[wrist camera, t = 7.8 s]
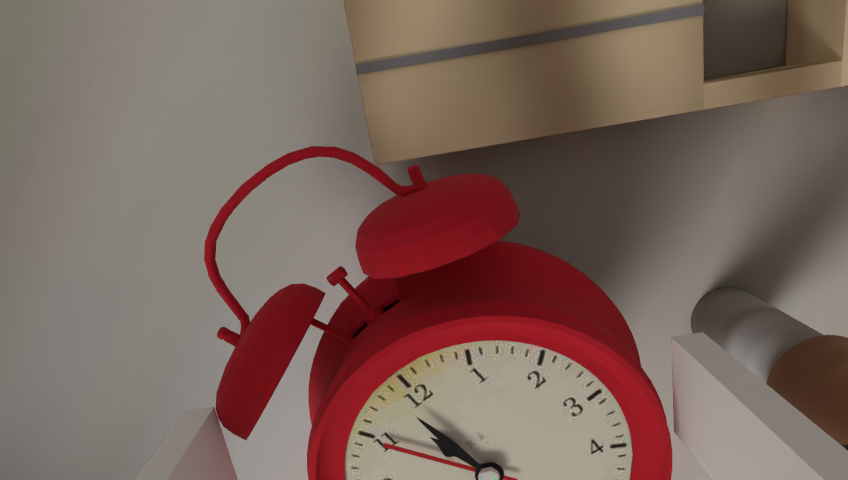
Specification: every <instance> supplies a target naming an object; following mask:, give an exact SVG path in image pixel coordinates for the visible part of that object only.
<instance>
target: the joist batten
mask: <svg viewBox="0 0 848 480" xmlns="http://www.w3.org/2000/svg"><path fill="white" fill-rule="evenodd" d="M344 5H345V10H346V15H347V21H348V26H349V31H350V36H351V42H352V47H353V52H354V57H355V63H356V69H357V75H358V78H359V84H360V89H361V94H362V99H363V104H364V110H365V115H366V120H367V125H368V131H369V136H370V141H371V146H372V152H373V157H374V162H375V165H378V164H384V163H390V162H396V161H402V160H408V159H414V158H420V157H425V156H431V155H437V154H443V153H449V152H455V151H461V150H467V149H473V148H479V147H485V146H491V145H497V144H503V143H509V142H515V141H521V140H527V139H533V138H538V137H544V136H550V135H556V134H562V133H568V132H574V131H580V130H586V129H592V128H598V127H604V126H610V125H616V124H622V123H628V122H634V121H640V120H645V119H651V118H657V117H663V116H669V115H675V114H681V113H687V112H693V111H699V110H705V109H711V108H717V107H723V106H729V105H735V104H741V103H747V102H753V101H758V100H764V99H770V98H776V97H782V96H788V95H794V94H800V93H806V92H812V91H818V90H824V89H830V88H836V87H842V86H848V0H788V4H787V32H786V61H785V66H782V67H776V68H770V69H764V70H758V71H752V72H746V73H741V74H735V75H729V76H723V77H717V78H711V79H705V80H704V69H703V15H705V4H703V0H344Z"/></svg>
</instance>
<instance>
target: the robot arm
mask: <svg viewBox="0 0 848 480" xmlns="http://www.w3.org/2000/svg"><path fill="white" fill-rule="evenodd" d="M671 339H672V375H673V410H674V432H675V433H676V435H677V436H678V437H679V438H680V440H681V441H682V442H683V444H684V445H685V446H686V447H687V449H688V450H689V451H690V453H691V454H692V455H693V457H694V458H695V459H696V460H697V462H698V463H699V464H700V466H701V467H702V468H703V469H704V471H705V472H706V473H707V475H708V476H709V477H710V479H711V480H848V444H847V445H840V444H839V443H838V442H837V441H835V440H834V439H833V438H832V437H830V436H829V435H828V434H827V433H826V432H824V431H823V430H822V429H821V428H819V427H818V426H817V425H816V424H815V423H813V422H812V421H811V420H810V419H808V418H807V417H806V416H805V415H804V414H802V413H801V412H800V411H799V410H797V409H796V408H795V407H794V406H793V405H791V404H790V403H789V402H788V401H786V400H785V399H784V398H783V397H781V396H780V395H779V394H778V393H777V392H775V391H774V390H773V389H772V388H770V387H769V386H768V385H767V384H766V383H764V382H763V381H762V380H761V379H759V378H758V377H757V376H756V375H755V374H753V373H752V372H751V371H750V370H748V369H747V368H746V367H745V366H744V365H742V364H741V363H740V362H739V361H737V360H736V359H735V358H734V357H733V356H731V355H730V354H729V353H728V352H726V351H725V350H724V349H723V348H721V347H720V346H719V345H718V344H717V343H715V342H714V341H713V340H712V339H710V338H709V337H708V336H707V335H706V334H704V333H703V332H701V333H694V334H688V335H681V336H675V337H671ZM134 480H238V479H237V476H236V473H235V470H234V467H233V464H232V461H231V458H230V455H229V452H228V449H227V446H226V443H225V439H224V436H223V433H222V430H221V427H220V424H219V421H218V418H217V415H216V412H215V409H214V407H212V408H206V409H199V410H193V411H186V412H184V413H183V415H182V416H181V417H180V419H179V420H178V421H177V423H176V424H175V425H174V427H173V428H172V429H171V431H170V432H169V433H168V435H167V436H166V438H165V439H164V440H163V442H162V443H161V444H160V446H159V447H158V448H157V450H156V451H155V452H154V454H153V455H152V456H151V458H150V459H149V461H148V462H147V463H146V465H145V466H144V467H143V469H142V470H141V471H140V473H139V474H138V475H137V477H136V478H135V479H134Z"/></svg>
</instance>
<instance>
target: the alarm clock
mask: <svg viewBox="0 0 848 480" xmlns="http://www.w3.org/2000/svg"><path fill="white" fill-rule="evenodd" d="M314 157H333V158H337V159H340V160H343V161H346V162H349V163H351V164H353V165H355V166H357V167H358V168H360V169H362V170H363V171H365V172H367V173H368V174H370V175H371V176H372V177H374V178H375V179H376V180H378V181H379V182H380V183H382V184H383V185H384V186H386V187H387V188H389V189H390V190H391V191H393V192H394V193H395V194H398V195H396V196H395V197H393V198H391V199H389V200H388V201H386V202H384V203H382V204H380V205H379V206H378V207H377V208H376V209H375V210H373V211H372V212H371V213H370V214H369V215H368V216H367V217H366V219H365V220H364V221H363V223H362V224H361V226H360V227H359V229H358V232H357V239H356V246H355V247H356V251H357V255H358V259H359V262H360V265H361V268H362V270H363V273H364V274H366V275H368V276H369V277H368V278H366V279H365V280H364V281H363V282H362V283H361V284H359V285H358V286H357V287H356V288H355V289H354V288H353V287H352V286H351V284H350V283H349V282H348V281H347V280H346V279H345V277H346V276H347V272H346V270H345V269H344V268H343V267H341V266H340V267H338V268H337V269H336V270H335V271H334V272H332V273H331V274H330V275H329V276H328V277H327V280H328V282H329V283H330V284H331V285H333V286H335V285H336V284H337V283H339V284H340V285H341V286H342V287H343V288H344V289H345V290H346V292H347V293H348V294H349V295H348V296H347V297H346V299H345V300H344V301H343V302H342V303H341V304H340V305H339V307H338V309H337V310H336V312H335V313H334V315H333V316H332V318H331V320H330V322H329V323H328V325H326V324H324V323H322V322H320V321H318V320H316V319H314V316H315V314H316V312H317V310H318V308H319V306H320V304H321V302H322V300H323V298H324V296H325V293H324V292H322V291H321V290H319V289H317V288H315V287H312V286H309V285H306V284H291V285H289V286H287V287H285V288H283V289H281V290H279V291H278V292H277V293H275V294H274V295H273V296H272V297H270V298H269V299H268V301H267V302H266V303H265V304H264V305H263V306H262V308H261V309H260V310H259V311H258V312H257V313H256V315H255V316H254V318H253V319H252V321H251V322H250V320H249V316H248V315H247V313H246V312H245V311H244V309H243V308H242V307H241V305H240V304H239V303H238V301H237V300H236V299H235V297H234V296H233V295H232V293H231V292H230V291H229V289H228V288H227V286H226V284H225V283H224V281H223V279H222V278H221V276H220V273H219V270H218V267H217V264H216V261H215V254H216V240H217V238H218V236H219V234H220V232H221V230H222V228H223V226H224V224H225V222H226V220H227V219H228V217H229V216H230V214H231V213H232V212H233V210H234V209H235V208H236V207H237V206H238V205H239V203H240V202H241V201H242V200H243V199H244V198H245V197H246V196H247V195H248V194H249V193H250V192H251V191H252V190H253V189H255V188H256V187H257V186H258V185H260V184H261V183H262V182H263V181H265V180H266V179H267V178H268V177H270V176H271V175H273V174H274V173H276V172H278V171H279V170H281V169H283V168H284V167H286V166H288V165H290V164H293V163H295V162H298V161H301V160H304V159H307V158H314ZM408 173H409V175H410V179H411V181H412V183H413V185H412V186H400V185H398V184H396V183H395V182H394V181H393V180H392V179H391V178H390V177H389V176H388V175H386V174H385V173H384V172H383V171H382V170H381V169H380V168H378V167H377V166H375V165H373V164H372V163H370V162H368V161H367V160H365V159H364V158H362V157H360V156H358V155H357V154H355V153H353V152H350V151H347V150H344V149H341V148H337V147H321V146H311V147H308V148H304V149H301V150H297V151H294V152H291V153H288V154H286V155H284V156H282V157H281V158H279V159H277V160H275V161H273V162H271V163H270V164H268V165H267V166H265V167H264V168H263V169H261V170H260V171H259V172H258V173H256V174H255V175H254V176H253V177H251V178H250V179H249V180H247V181H246V182H245V183H244V184H242V185H241V187H240V188H239V189H238V190H237V191H236V192H235V193H234V195H233V196H232V197H231V198H230V199H229V200H228V201H227V203H226V204H225V205H224V206H223V207H222V208H221V210H220V211H219V213H218V215H217V216H216V218H215V220H214V222H213V223H212V225H211V227H210V229H209V232H208V235H207V238H206V241H205V255H204V260H205V264H206V268H207V271H208V275H209V278H210V279H211V281H212V283H213V285H214V287H215V288H216V290H217V292H218V293H219V294H220V296H221V297H222V298H223V300H224V301H225V302H226V303H227V305H228V306H229V307H230V309H231V310H232V311H233V312H234V314H235V315H236V316H237V318H238V319H239V320H240V322H241V332H240V335H239V334H237V333H235V332H233V331H230V330H229V329H227V328H225V327H221V328H220V329H219V331H218V333H217V337H218V338H220V339H222V340H223V339H224V341H226V342H228V343H230V344H232V345H233V346H235V349H234V351H233V353H232V355H231V357H230V359H229V361H228V363H227V365H226V367H225V370H224V373H223V376H222V379H221V382H220V385H219V387H218V390H217V396H216V411H217V415H218V418H219V420H220V421H221V423H222V425H223V426H224V427H225V428H226V429H228V430H229V431H231V432H232V433H233V434H235V435H237V436H239V437H241V438H242V439H244V440H246V439H247V438H248V436H249V435H250V433H251V431H252V430H253V428H254V426H255V425H256V423H257V421H258V419H259V418H260V416H261V414H262V412H263V411H264V409H265V407H266V405H267V403H268V402H269V400H270V398H271V396H272V394H273V393H274V391H275V389H276V387H277V385H278V384H279V382H280V380H281V378H282V376H283V374H284V373H285V371H286V369H287V367H288V365H289V363H290V361H291V360H292V358H293V356H294V354H295V352H296V350H297V348H298V347H299V345H300V343H301V341H302V339H303V337H304V335H305V333H306V331H307V330H308V328H309V326H310V324H311V325H313V326H315V327H317V328H319V329H321V330H324V333H323V335H322V337H321V340H320V342H319V345H318V348H317V351H316V353H315V356H314V359H313V364H312V368H311V373H310V380H309V410H310V418H311V423H312V429H311V433H310V437H309V443H308V451H307V471H308V479H309V480H671V473H672V447H671V439H670V433H669V430H668V427H667V422H666V416H665V413H664V410H663V406H662V403H661V401H660V398H659V396H658V394H657V392H656V390H655V388H654V386H653V384H652V382H651V380H650V379H649V377H648V376H647V375H646V373H645V372H644V370H643V369H642V367H641V363H640V358H639V353H638V350H637V346H636V343H635V340H634V338H633V335H632V333H631V331H630V329H629V327H628V325H627V323H626V321H625V319H624V318H623V316H622V314H621V313H620V311H619V310H618V309H617V307H616V306H615V304H614V303H613V302H612V301H611V300H610V299H609V297H608V296H607V295H606V294H605V293H604V292H603V291H602V290H601V289H600V288H599V287H598V286H597V285H596V284H595V283H594V282H593V281H592V280H591V279H589V278H588V277H587V276H586V275H585V274H584V273H582V272H581V271H579V270H578V269H576V268H575V267H573V266H572V265H570V264H569V263H567V262H565V261H563V260H561V259H560V258H558V257H556V256H553V255H551V254H548V253H546V252H544V251H541V250H538V249H535V248H532V247H529V246H525V245H521V244H517V243H510V242H504V241H498V240H500V239H501V238H503V237H504V236H505V235H506V234H507V233H508V232H509V231H511V230H512V229H513V228H514V227H515V226H516V225H517V223H518V219H519V215H520V213H519V211H518V208H517V205H516V203H515V201H514V199H513V197H512V195H511V193H510V191H509V189H508V188H507V187H506V186H505V185H504V184H503V183H502V182H501V181H499V180H498V179H497V178H495V177H491V176H488V175H483V174H460V175H455V176H449V177H445V178H441V179H437V180H434V181H430V182H425V180H424V178H423V175H422V173H421V170H420V168H419V166H418V165H413V166H411V167H409V168H408Z"/></svg>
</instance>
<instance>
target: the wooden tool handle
mask: <svg viewBox="0 0 848 480" xmlns="http://www.w3.org/2000/svg"><path fill="white" fill-rule="evenodd" d="M691 328H692V332H693V334H694V333H701V332H703V333H704V334H706V335H707V336H708V337H709V338H710V339H712V340H713V341H714V342H715V343H717V344H718V345H719V346H720V347H721V348H723V349H724V350H725V351H726V352H728V353H729V354H730V355H731V356H733V357H734V358H735V359H736V360H737V361H739V362H740V363H741V364H742V365H744V366H745V367H746V368H747V369H748V370H750V371H751V372H752V373H753V374H755V375H756V376H757V377H758V378H759V379H761V380H762V381H763V382H764V383H766V384H767V385H768V386H769V387H770V388H772V389H773V390H774V391H775V392H777V393H778V394H779V395H780V396H781V397H783V398H784V399H785V400H786V401H788V402H789V403H790V404H791V405H793V406H794V407H795V408H796V409H797V410H799V411H800V412H801V413H802V414H804V415H805V416H806V417H807V418H808V419H810V420H811V421H812V422H813V423H815V424H816V425H817V426H818V427H819V428H821V429H822V430H823V431H824V432H826V433H827V434H828V435H829V436H830V437H832V438H833V439H834V440H835V441H837V442H838V443H839V444H840V445H847V444H848V338H846V337H842V336H836V335H825V336H824V335H822V334H821V333H819V332H817V331H815V330H814V329H812V328H810V327H808V326H807V325H805V324H803V323H801V322H799V321H798V320H796V319H794V318H792V317H791V316H789V315H787V314H785V313H784V312H782V311H780V310H778V309H776V308H775V307H773V306H771V305H769V304H768V303H766V302H764V301H762V300H761V299H759V298H757V297H755V296H753V295H752V294H750V293H748V292H746V291H745V290H742V289H740V288H736V287H724V288H719V289H717V290H714V291H712V292H710V293H709V294H707V295H706V296H704V297H703V298H702V299H701V300H700V301H699V303H698V304H697V305H696V307H695V309H694V311H693V314H692V318H691Z"/></svg>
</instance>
